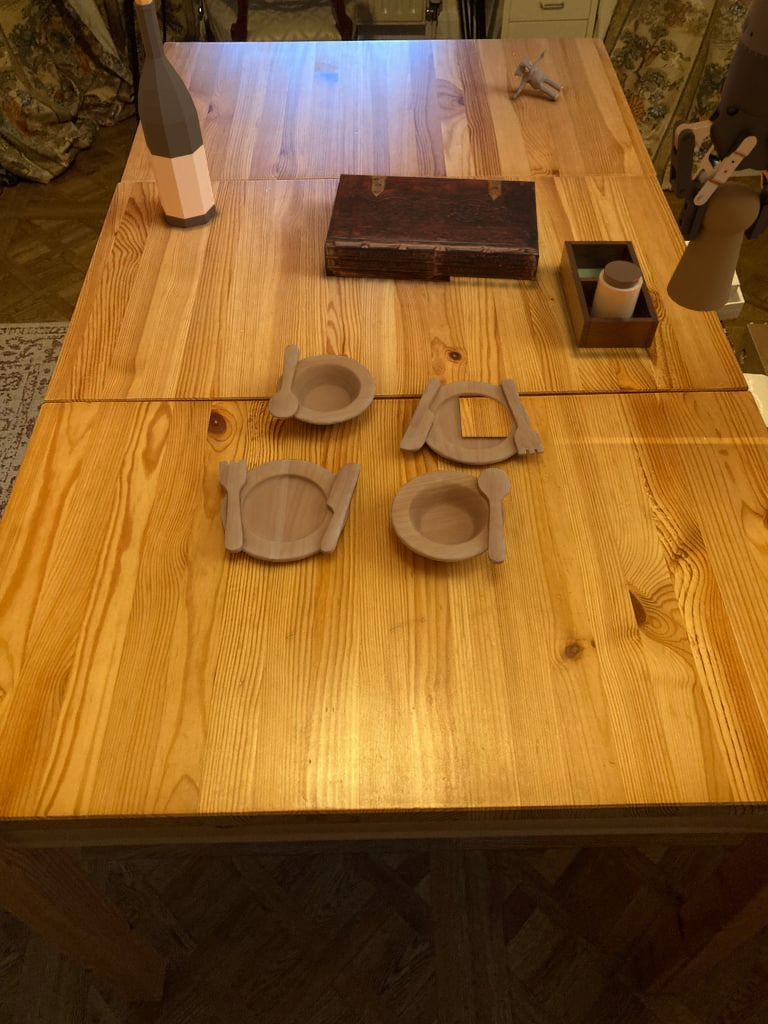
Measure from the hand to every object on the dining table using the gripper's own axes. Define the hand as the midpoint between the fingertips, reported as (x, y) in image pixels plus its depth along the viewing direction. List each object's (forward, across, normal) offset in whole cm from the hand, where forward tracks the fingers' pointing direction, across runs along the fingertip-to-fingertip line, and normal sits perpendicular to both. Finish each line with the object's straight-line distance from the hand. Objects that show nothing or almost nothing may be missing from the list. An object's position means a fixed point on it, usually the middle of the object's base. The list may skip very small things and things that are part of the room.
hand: (718, 235), depth 72 cm
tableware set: (+23, -32, -8) cm, 40 cm away
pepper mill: (+7, 0, 0) cm, 7 cm away
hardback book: (+24, -24, +36) cm, 49 cm away
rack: (+23, -2, +20) cm, 30 cm away
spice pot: (+22, -2, +15) cm, 27 cm away
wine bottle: (+23, -61, +45) cm, 79 cm away
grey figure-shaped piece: (+24, -2, +84) cm, 88 cm away
